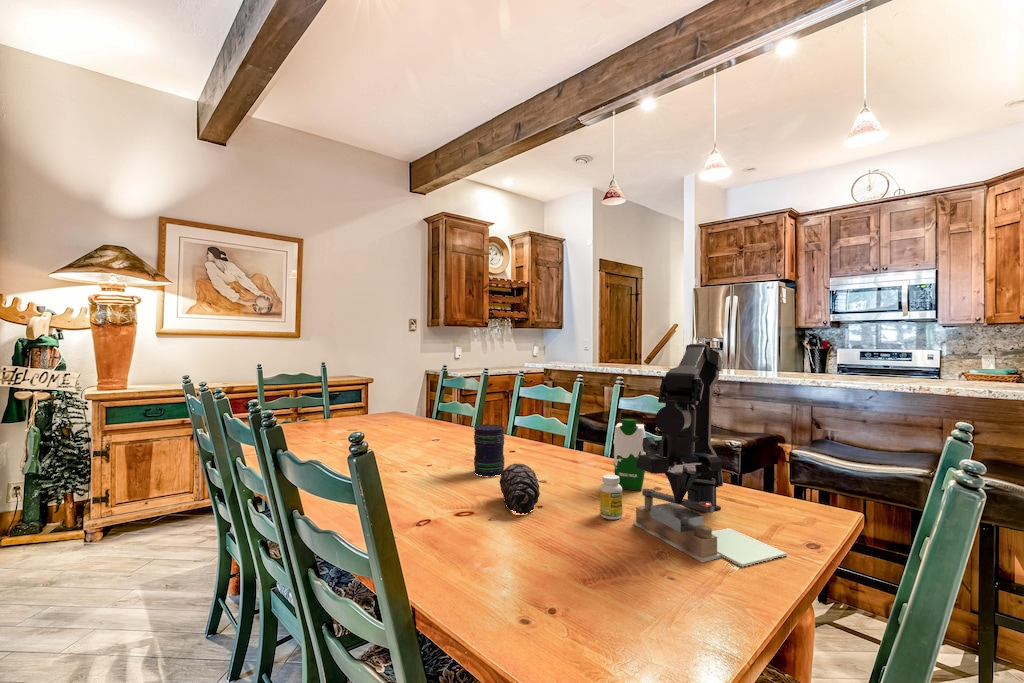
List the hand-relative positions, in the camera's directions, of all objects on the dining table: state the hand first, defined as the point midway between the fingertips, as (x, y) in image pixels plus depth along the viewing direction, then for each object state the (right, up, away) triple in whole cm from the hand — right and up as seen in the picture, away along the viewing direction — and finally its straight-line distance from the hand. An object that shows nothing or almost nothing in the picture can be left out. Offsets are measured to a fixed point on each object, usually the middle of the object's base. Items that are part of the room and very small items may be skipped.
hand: (677, 503), depth 101 cm
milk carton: (-1, -8, +38) cm, 38 cm away
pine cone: (-33, -8, +21) cm, 40 cm away
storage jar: (-43, -8, +52) cm, 68 cm away
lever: (0, 0, +2) cm, 2 cm away
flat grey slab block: (-1, -4, -1) cm, 4 cm away
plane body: (-1, -8, -1) cm, 8 cm away
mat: (+10, -8, -4) cm, 13 cm away
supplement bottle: (-11, -8, +14) cm, 19 cm away
